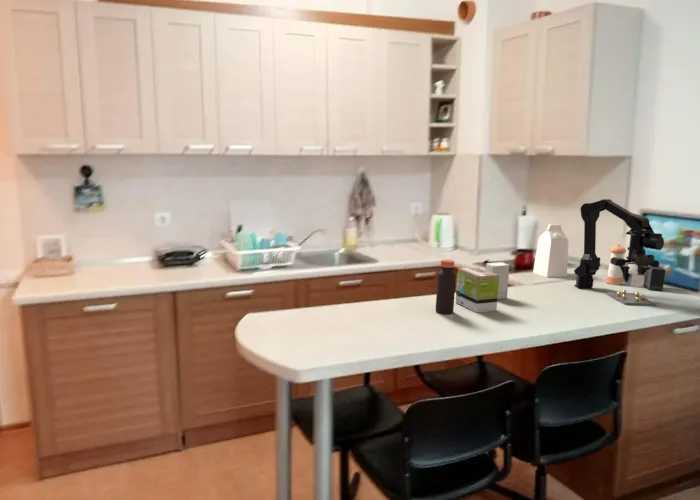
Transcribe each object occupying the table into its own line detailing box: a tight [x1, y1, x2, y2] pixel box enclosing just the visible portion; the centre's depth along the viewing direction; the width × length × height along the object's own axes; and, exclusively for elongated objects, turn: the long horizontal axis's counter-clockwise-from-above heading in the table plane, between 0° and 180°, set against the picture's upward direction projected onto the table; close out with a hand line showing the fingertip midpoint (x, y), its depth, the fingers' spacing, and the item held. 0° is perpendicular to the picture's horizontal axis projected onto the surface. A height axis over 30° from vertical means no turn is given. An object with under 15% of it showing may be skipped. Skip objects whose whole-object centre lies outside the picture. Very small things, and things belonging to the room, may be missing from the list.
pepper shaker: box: [605, 244, 627, 286], centre depth 289 cm, size 7×7×19 cm
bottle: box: [435, 259, 457, 315], centre depth 226 cm, size 7×7×20 cm
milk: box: [532, 223, 569, 278], centre depth 304 cm, size 12×12×26 cm
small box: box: [643, 265, 666, 292], centre depth 282 cm, size 11×6×10 cm, turn 168°
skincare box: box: [485, 261, 510, 300], centre depth 251 cm, size 8×6×15 cm
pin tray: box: [606, 289, 657, 307], centre depth 257 cm, size 13×18×3 cm
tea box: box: [455, 266, 499, 313], centre depth 235 cm, size 15×10×15 cm, turn 23°
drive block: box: [622, 270, 645, 288], centre depth 256 cm, size 5×9×5 cm, turn 179°
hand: (632, 281), depth 256 cm, fingers closed on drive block, 5 cm apart
